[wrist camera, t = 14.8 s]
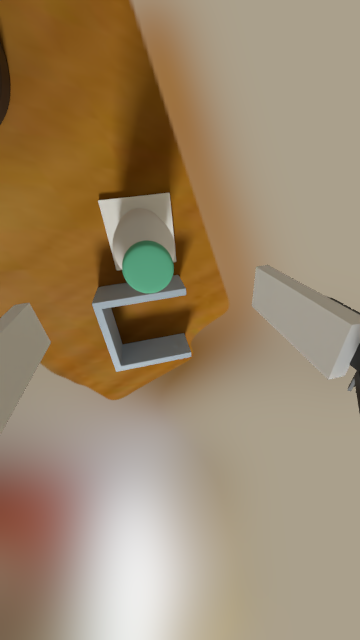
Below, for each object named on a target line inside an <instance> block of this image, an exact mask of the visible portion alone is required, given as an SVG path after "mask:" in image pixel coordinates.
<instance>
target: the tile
mask: <svg viewBox="0 0 360 640" xmlns="http://www.w3.org/2000/svg"><path fill="white" fill-rule="evenodd" d="M98 202H99V206H100V209H101V213H102V217H103V221H104V225H105V228H106V232H107V236H108V240H109V244H110V247H111V251H112V255H113V259H114V263H115V266H116V270H117V271H118V270H122V269H121V268H120V267H119V265H118V263H117V262H116V259H115V257H114V253H113V246H112V243H113V237H114V233H115V230H116V228H117V225H118V223H119V221H120V219H121V218H122V217H123V215H124V214H126V213H127V212H128V211H130V210H132V209H136V208H143V209H147V210H150V211H152V212H153V213H155V214H156V215H157V216H158V217H159V218H160V219H161V220H162V221H163V222H164V223H165V224H166V226H167V227H168V228H169V230H170V232H171V234H172V236H173V239H174V232H173V222H172V212H171V202H170V193H161V194H152V195H143V196H134V197H125V198H116V199H107V200H98ZM174 243H175V242H174ZM173 262H176V252H175V256H174V260H173Z"/></svg>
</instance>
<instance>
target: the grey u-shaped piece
mask: <svg viewBox="0 0 360 640" xmlns="http://www.w3.org/2000/svg"><path fill="white" fill-rule="evenodd" d="M183 295H186V288H185V286H184V284H183V282H182V281H181V279H180V277H179V275H173V276H172V279H171V281H170V283H169V284H168V285H167V286H166V287H165V288H164V289H162V290H161V291H159V292H156V293H142V292H139V291H137V290H135V289H133V288H132V287H131V286H130V285H129V284H128V283H121V284H115V285H109V286H102V287H98V289H97V291H96V294H95V297H94V299H93V302H92V306H93V308H94V311H95V314H96V317H97V319H98V322H99V325H100V328H101V330H102V333H103V336H104V339H105V342H106V344H107V347H108V350H109V353H110V355H111V358H112V361H113V364H114V366H115V369H116V372H118V371H123V370H128V369H133V368H138V367H143V366H147V365H152V364H157V363H162V362H167V361H172V360H177V359H182V358H187V357H191V351H190V348H189V345H188V343H187V340H186V337H185V334H184V333H181V334H176V335H170V336H165V337H160V338H155V339H149V340H144V341H139V342H133V343H128V344H122V341H121V338H120V334H119V331H118V328H117V325H116V321H115V318H114V315H113V312H112V308H111V307H117V306H123V305H129V304H135V303H141V302H147V301H153V300H159V299H165V298H171V297H177V296H183Z"/></svg>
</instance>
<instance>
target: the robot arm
mask: <svg viewBox="0 0 360 640" xmlns="http://www.w3.org/2000/svg"><path fill="white" fill-rule="evenodd" d="M9 99H10V79H9V71H8V66H7V62H6V58H5V54H4V51H3V48H2V45H1V42H0V124H1V123H2V121H3V119H4V117H5V115H6V112H7V109H8V105H9ZM252 307H253V308H254V309H255V310H256V311H257V312H259V313H260V314H261V315H262V316H263V317H264V318H265V319H266V320H267V321H268V322H269V323H270V324H271V325H272V326H273V327H274V328H275V329H276V330H277V331H278V332H279V333H280V334H281V335H282V336H284V337H285V339H287V340H288V341H289V342H290V343H291V344H292V345H293V346H294V347H295V348H296V349H297V350H298V351H299V352H300V353H301V354H302V355H303V356H304V357H305V358H306V359H307V360H308V361H309V362H310V363H311V364H313V365H314V366H315V367H316V368H317V369H318V370H319V371H320V372H321V373H322V374H323V375H324V376H325V377H326V378H327V379H333V378H337V377H341V376H345V373H346V372H347V370H348V368H349V366H350V365H351V366H352V367H353V368H355V369H356V370H357V372H356V373H355V375H354V377H353V379H352V381H351V383H350V385H349V387H348V391H351V390H352V388H353V387H355V386H356V393H357V399H358V406H359V412H360V313H359V312H357V311H356V310H354V309H353V310H352V309H351V308H350V307H348V306H346V305H343V304H342V303H341V302H339V301H337V300H335V299H333V298H329V297H326V296H324V295H322V294H320V293H319V292H317V291H315V290H313V289H311V288H309V287H307V286H306V285H304V284H302V283H300V282H298V281H296V280H294V279H293V278H291V277H289V276H287V275H285V274H284V273H281V272H280V271H278V270H276V269H274V268H273V267H271V266H269V265H265V266H258V267H256V274H255V283H254V291H253V300H252ZM50 343H51V342H50V340H49V338H48V336H47V334H46V332H45V331H44V329H43V327H42V325H41V323H40V321H39V320H38V318H37V316H36V314H35V312H34V310H33V309H32V307H31V305H30V303H24V304H18V305H14V306H13V307H12V308H11V309H10V310H9V311H7V312H6V313H5V314H4V315H3V316H2V317H1V318H0V435H1V433H2V431H3V429H4V427H5V426H6V424H7V422H8V420H9V418H10V417H11V415H12V413H13V411H14V409H15V407H16V406H17V404H18V402H19V400H20V398H21V396H22V394H23V393H24V391H25V389H26V387H27V385H28V383H29V382H30V380H31V378H32V376H33V374H34V373H35V371H36V369H37V367H38V365H39V363H40V362H41V360H42V358H43V356H44V354H45V352H46V351H47V349H48V347H49V345H50Z"/></svg>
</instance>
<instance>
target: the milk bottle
mask: <svg viewBox="0 0 360 640" xmlns="http://www.w3.org/2000/svg"><path fill="white" fill-rule="evenodd" d="M112 246H113V253H114V257H115V259H116V262H117V263H118V265H119V267H120V268H121V269H122V272H123V276H124V278H125V280H126V281H127V283H128V284H129V285H130V286H131V287H132V288H133V289H135V290H137V291H139V292H142V293H156V292H159V291H161V290H162V289H164V288H165V287H166V286H167V285H168V284H169V283H170V281H171V279H172V276H173V273H174V264H173V260H174V256H175V243H174V239H173V236H172V234H171V232H170V230H169V228H168V227H167V226H166V224H165V223H164V222H163V221H162V220H161V219H160V218H159V217H158V216H157V215H156V214H155V213H153V212H152V211H150V210H147V209H143V208H136V209H132V210H130V211H128V212H127V213H126V214H124V215H123V217H122V218H121V219H120V221H119V223H118V225H117V228H116V230H115V233H114V237H113V243H112Z"/></svg>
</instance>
